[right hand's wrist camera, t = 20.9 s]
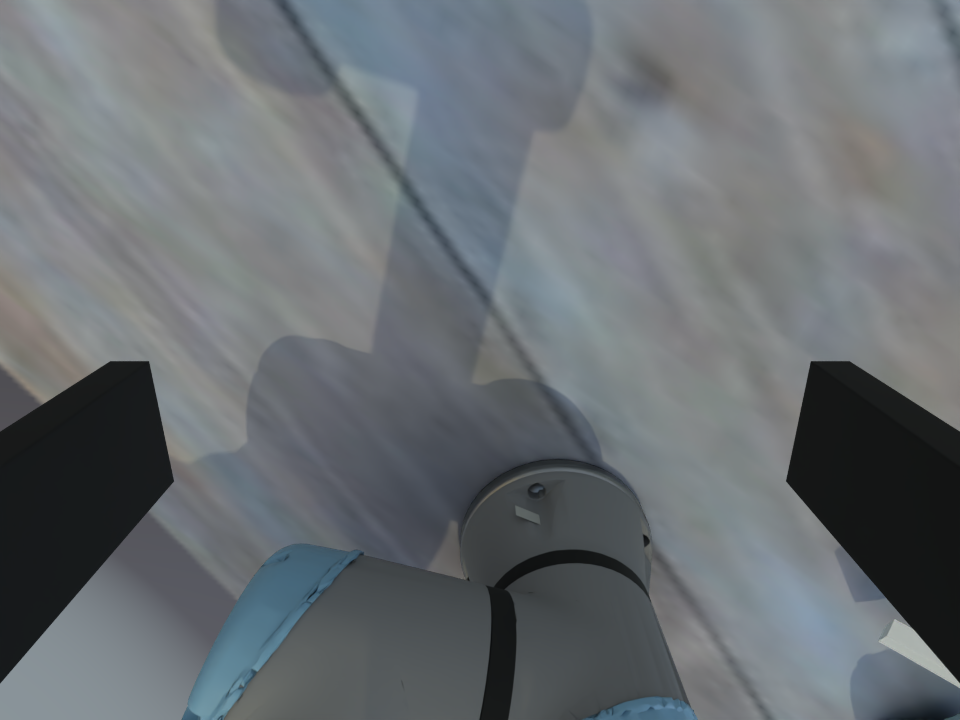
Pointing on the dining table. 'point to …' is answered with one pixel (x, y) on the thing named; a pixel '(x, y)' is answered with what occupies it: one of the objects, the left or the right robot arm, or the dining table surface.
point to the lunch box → (954, 717)
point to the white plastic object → (914, 649)
